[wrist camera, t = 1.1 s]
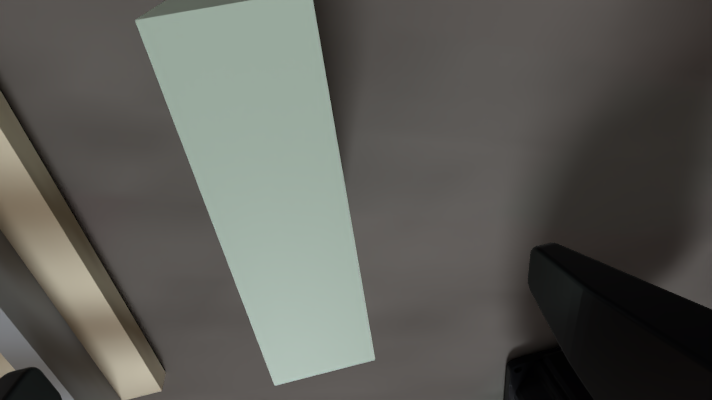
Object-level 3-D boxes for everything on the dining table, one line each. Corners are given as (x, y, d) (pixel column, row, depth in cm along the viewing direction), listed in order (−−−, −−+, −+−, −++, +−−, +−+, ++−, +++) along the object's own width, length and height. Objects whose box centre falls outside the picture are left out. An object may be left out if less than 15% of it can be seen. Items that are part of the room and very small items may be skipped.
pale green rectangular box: (337, 228, 19) (375, 359, 13) (269, 243, 18) (274, 385, 13) (287, -32, 13) (311, -11, 8) (190, -15, 13) (134, 19, 7)
